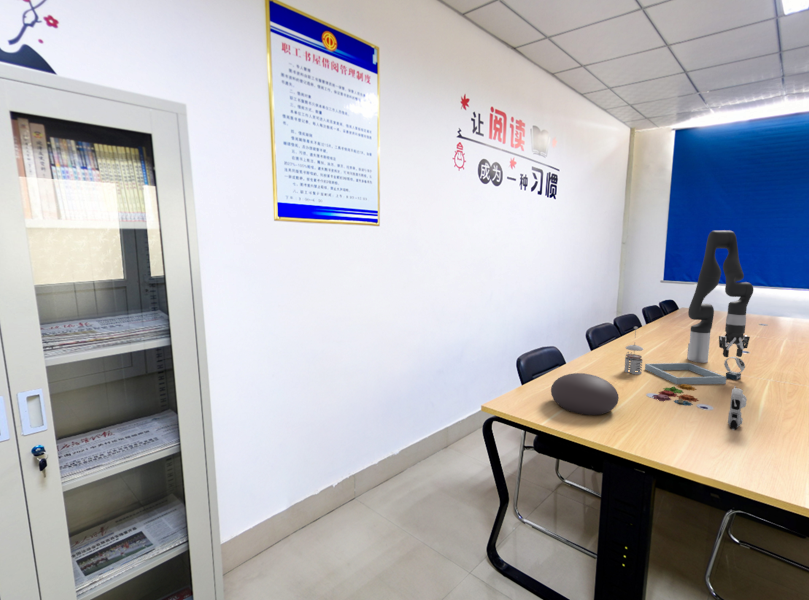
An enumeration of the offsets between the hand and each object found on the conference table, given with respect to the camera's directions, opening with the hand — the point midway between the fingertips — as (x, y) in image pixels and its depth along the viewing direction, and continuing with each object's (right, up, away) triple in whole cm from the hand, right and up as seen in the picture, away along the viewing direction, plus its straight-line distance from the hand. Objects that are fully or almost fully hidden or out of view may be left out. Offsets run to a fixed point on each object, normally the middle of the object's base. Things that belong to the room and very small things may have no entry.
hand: (732, 356), depth 204 cm
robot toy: (-42, -19, -55) cm, 72 cm away
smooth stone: (-90, -17, -38) cm, 99 cm away
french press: (-44, -11, +9) cm, 46 cm away
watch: (+1, -11, +1) cm, 11 cm away
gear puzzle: (-40, -15, -23) cm, 49 cm away
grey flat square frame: (-22, -11, +3) cm, 25 cm away
